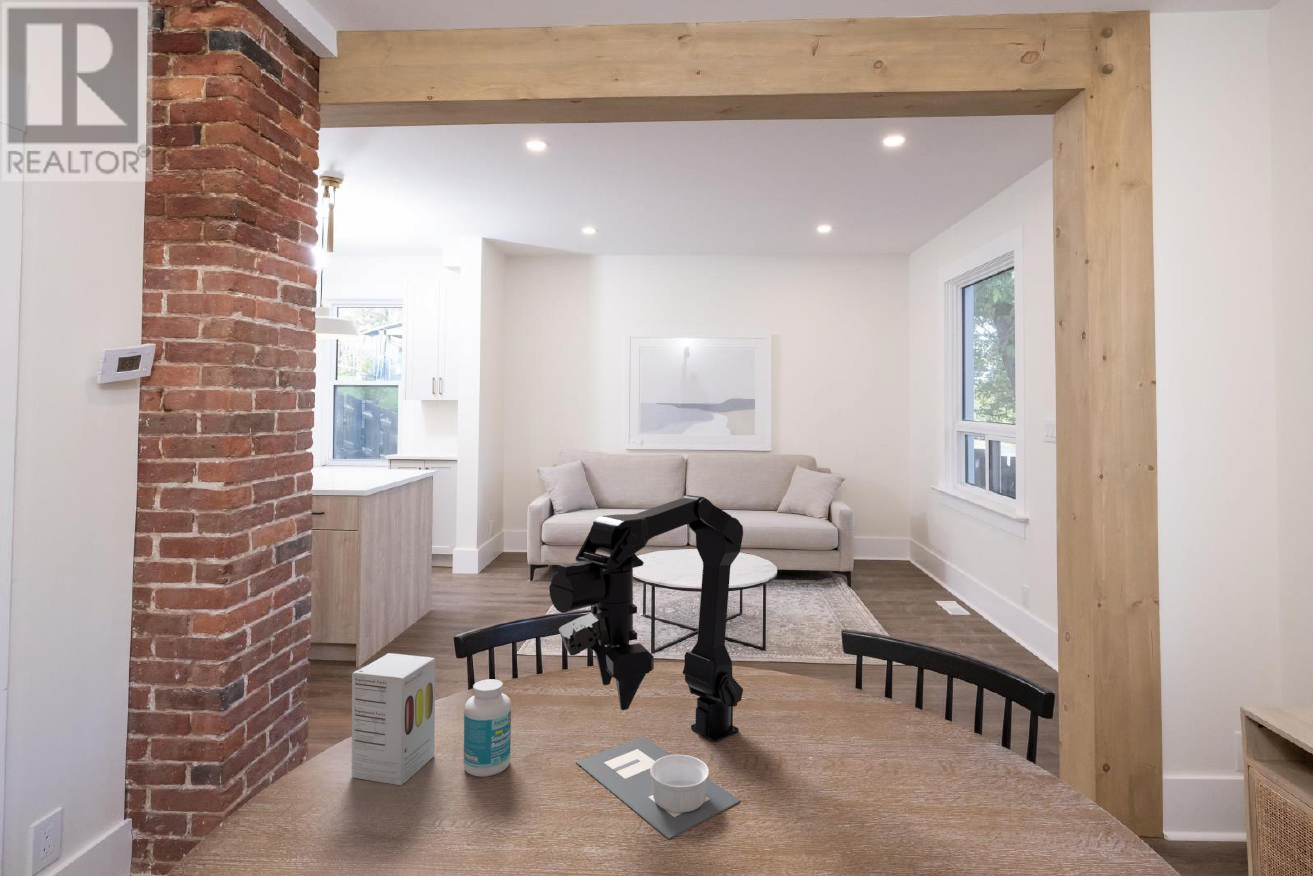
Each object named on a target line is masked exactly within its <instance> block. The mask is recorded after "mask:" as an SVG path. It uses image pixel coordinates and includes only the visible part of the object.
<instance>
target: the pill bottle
mask: <svg viewBox="0 0 1313 876" xmlns="http://www.w3.org/2000/svg"><path fill="white" fill-rule="evenodd" d="M503 691H504V683H503V682H502V681H501V680H499V679H493V678H492V679H490V678H489V679H487V678H486V679H481V680H479V681H477V682H475V683H474V684H473V685H472V694H473V695H472V696H471V697H469V698H468V699H467V700H466V703H465V704H464V709H463V768H464V770H465V772H466V773H468V774H469V775H471V776H475V777H482V778H484V777H490V776H495V775H497V774H500V773H501V772H503V771H505V770H506V768H508V766H510V762H511V746H512V745H511V743H512V742H511V738H512V737H511V736H512V735H511V732H512V730H511V729H512V728H511V727H512V724H511V723H512V722H511V721H512V716H511V715H512V702H511V699H510V698H509V696H508V695H506V694H505V693H503Z"/></svg>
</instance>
